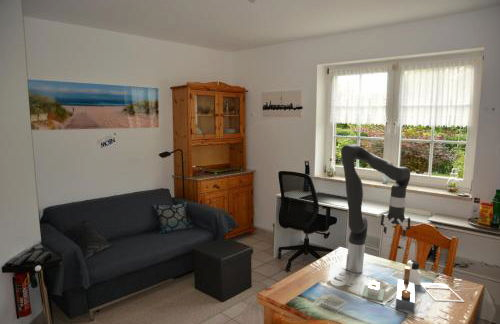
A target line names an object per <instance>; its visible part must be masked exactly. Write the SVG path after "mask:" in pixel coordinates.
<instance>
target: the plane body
mask: <svg viewBox="0 0 500 324" xmlns="http://www.w3.org/2000/svg"><path fill="white" fill-rule="evenodd" d="M404 267H405V273H404V272H403V273H404V279H399V278H398V279H397V287H396V300H395V309H397V310H402V311H405V312H411V313H415V306H416V305H415V303H416V297H415V296H416V294H415V293H416V291H415V289H416V288H415V286H416V285H415V283H414V282H410V281H409V276H410V267H407V265H406V266H404Z"/></svg>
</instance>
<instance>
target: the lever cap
mask: <svg viewBox="0 0 500 324" xmlns="http://www.w3.org/2000/svg"><path fill="white" fill-rule="evenodd" d="M368 286H369V287H368V295H371V296H375V297H378V295H379V288H380V289H381V282H378V281H375V280H369V284H368Z"/></svg>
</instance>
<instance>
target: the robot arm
mask: <svg viewBox="0 0 500 324" xmlns="http://www.w3.org/2000/svg"><path fill="white" fill-rule="evenodd" d="M340 157H341V163H342V165H343V172H344V180H345V190H346V191H345V192H346V199H347V200H346V201H347V207H348V228H349V230H350V233H349V235H348V245H347V247H348V248H347V254H346V262H345V263H346V264H345V270H346V271H348V272H350V273H354V274H361V273H362V272H363V271H364V259H365V258H364V257H365V246H366V239H367V236H368V235H367V233H368V224H369V223H368V219H367V218H366V217H365V216H364V215H363V213H362V205H363V199H364V190H363V182H362V180H361V178H360V176H359V174H358V172H357V171H356V168H355V161H356V160H358V161H359V160H360V161H363V162H365V163H367V164H368V165H369V167H370V168H372V169H373V170H376V171H377V172H380V173H382V174H384V175H385V176H386V177H388V178H389V179H391V180H393V181H395V183H394V184H393V185H391V189H390V190H391V191H390V197H389V203H388V204H389V206H388V214H387V213H386V214H385V213H382V214H381V219H380V226H382V227H383V233H384V234H385V235H386V234H387V232H388V231H387V230H388V226H389V225H390V224H393V225H400V226H401V228H402V235H401V237H402V238H404V237H405V236H406V233H407V230H411V217H410V216H408V217H405V209H406V194H407V188H408V186H409V182H410V178H411V171H410V169H409V168H408V167H406V166H395V165H393V162H391V161H390V160H387V159H385V158H382V157H379V156H377V155H376V154H373V153H371V151H368V150H367V149H365V148H364V147H362V146H361V145H358V144H356V143H350V144H346V145H343V146H342V148H341V151H340ZM386 218H387V221H386V222H384V220H385V219H386ZM404 221H405V222H407V226H406V225H405V223H404Z"/></svg>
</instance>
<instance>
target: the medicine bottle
mask: <svg viewBox="0 0 500 324" xmlns="http://www.w3.org/2000/svg"><path fill="white" fill-rule="evenodd" d="M406 266H407V267H410V276H409V281H410V282H414V283H415V286H421V285H420V284H421V283H422V275H423V274H422V272H421V271H420V263H419V262H418V261H416V260H411V259H410V260H408V261H407V264H406ZM404 273H405V266H404V267H403V274H402V280H404Z"/></svg>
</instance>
